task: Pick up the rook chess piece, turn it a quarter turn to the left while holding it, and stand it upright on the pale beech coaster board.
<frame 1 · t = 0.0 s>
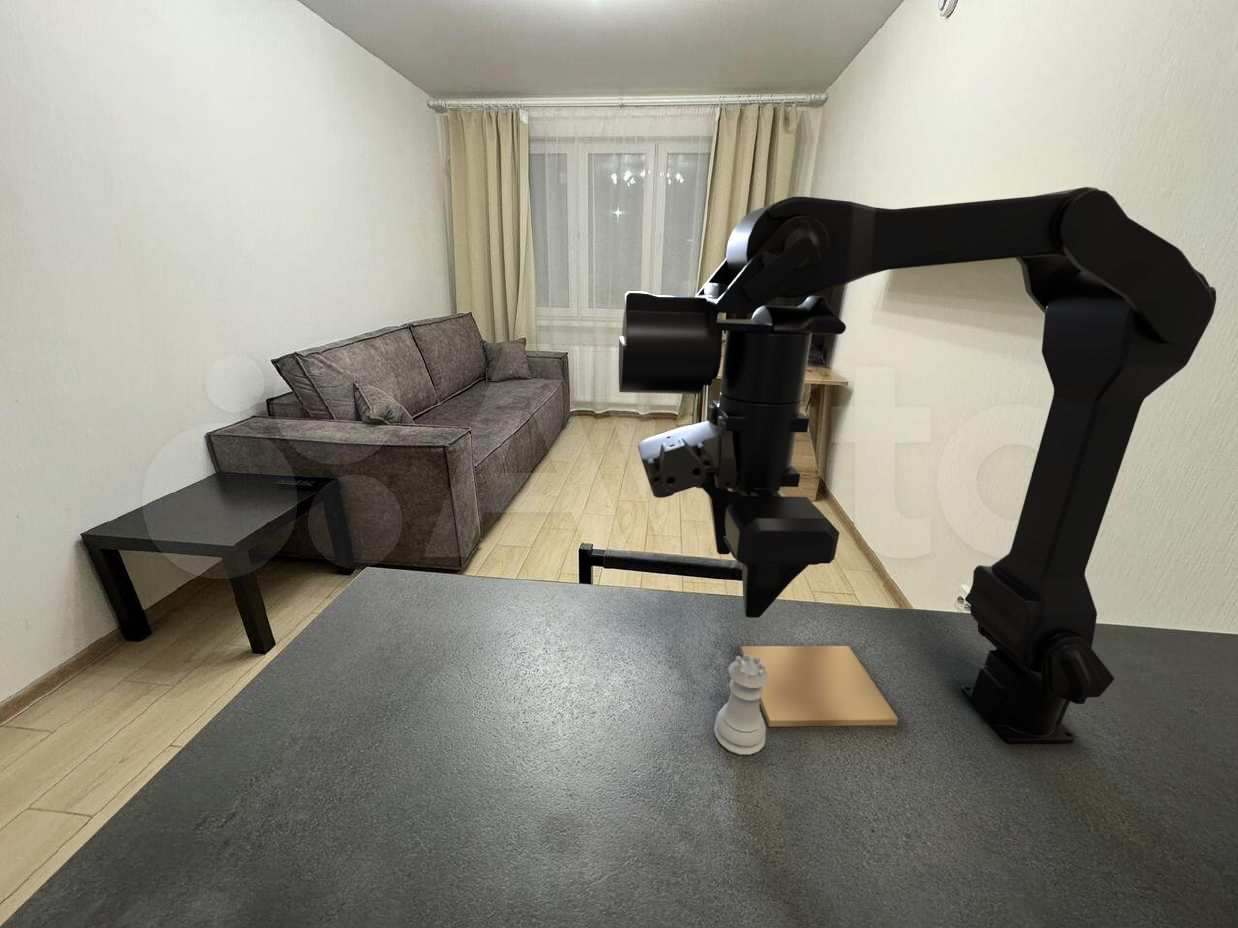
hand: (736, 581, 43), 15 cm above the table, tool pointing down, fingers open, 9 cm apart
rook chess piece: (738, 738, 46), on the table
coaster board: (811, 685, 52), on the table
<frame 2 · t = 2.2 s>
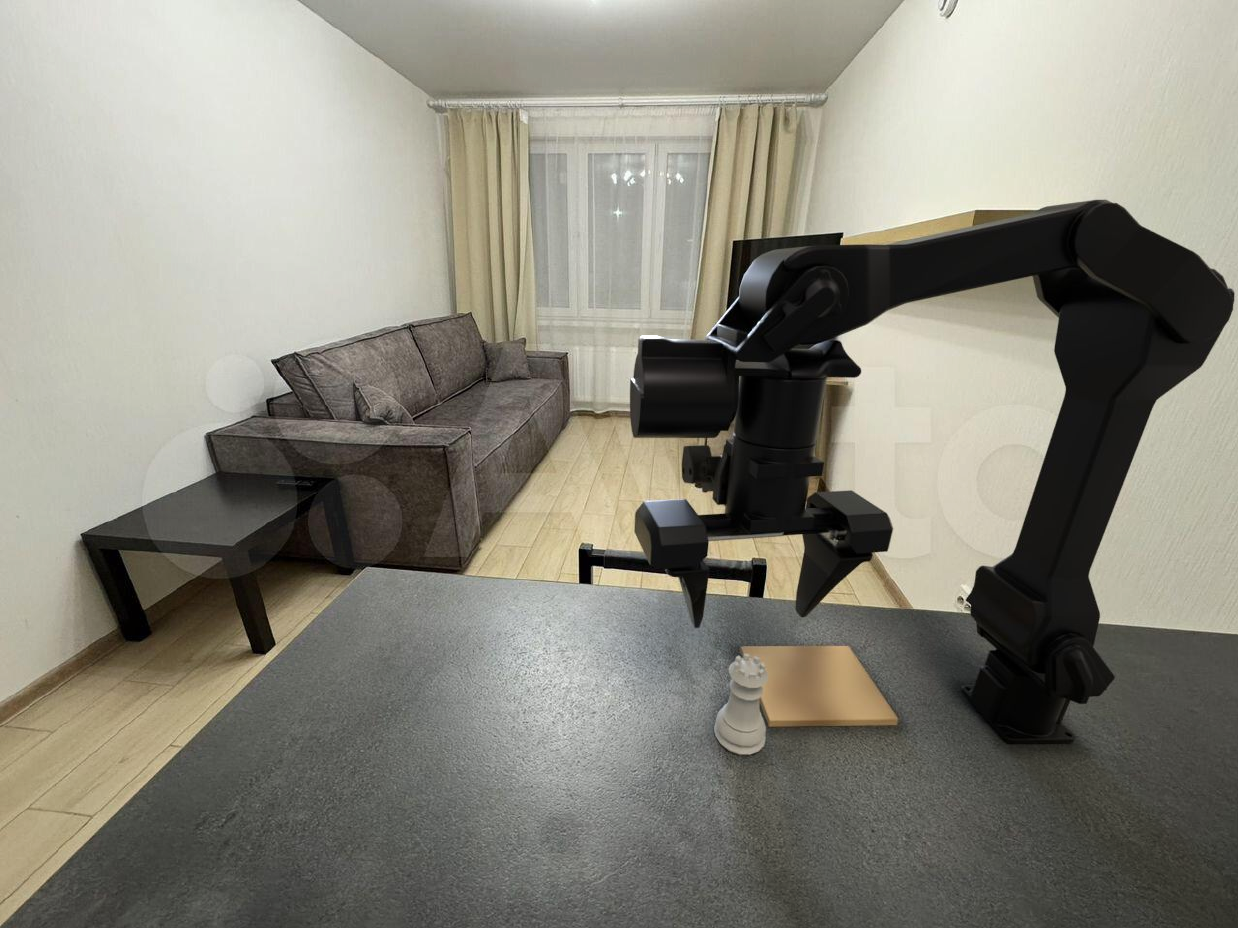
hand: (748, 619, 43), 12 cm above the table, tool pointing down, fingers open, 9 cm apart
nothing on the table moved.
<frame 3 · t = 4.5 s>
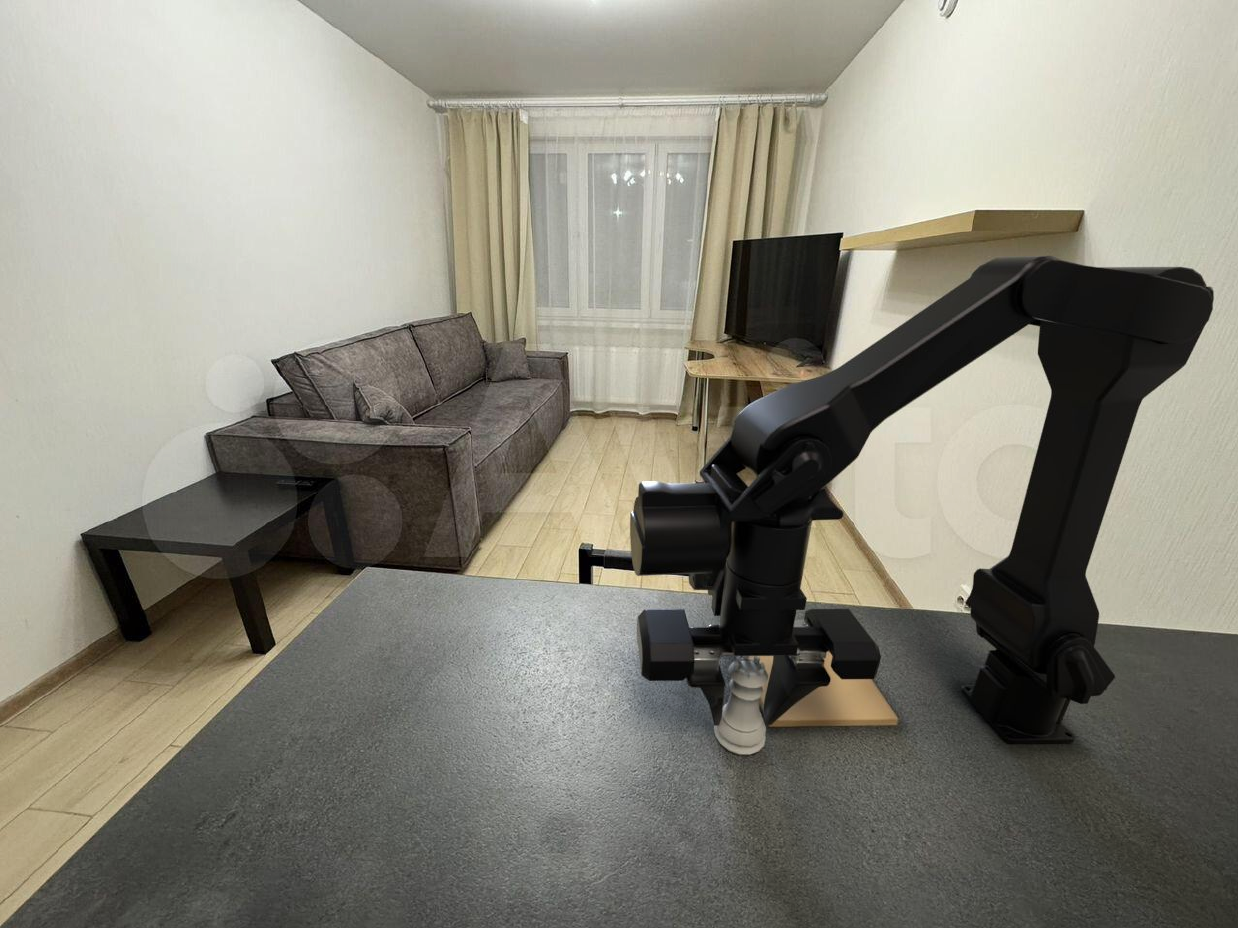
hand: (741, 720, 46), 2 cm above the table, tool pointing down, fingers closed on rook chess piece, 4 cm apart
rook chess piece: (738, 738, 46), on the table, touching gripper
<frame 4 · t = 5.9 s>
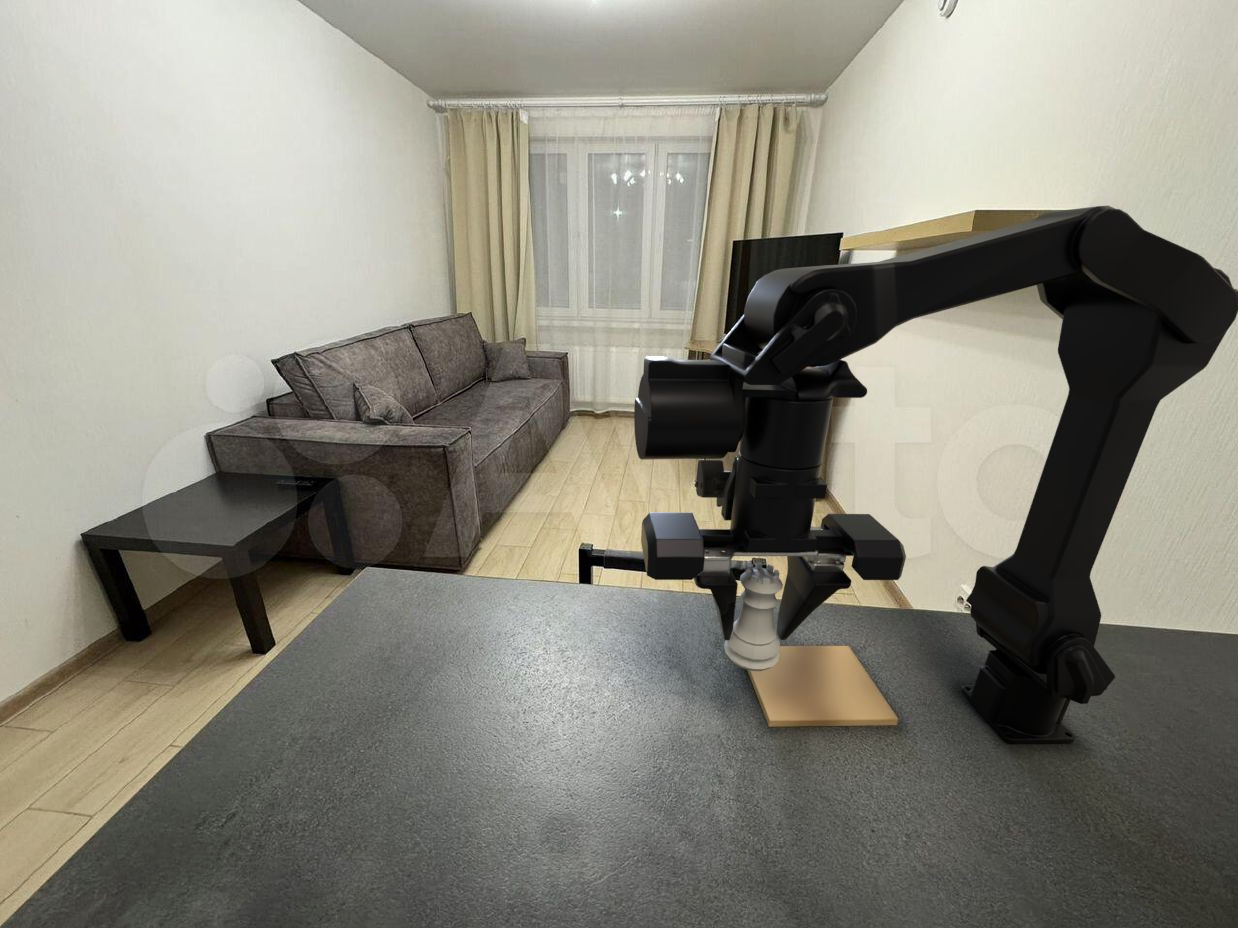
hand: (753, 636, 42), 11 cm above the table, tool pointing down, fingers closed on rook chess piece, 4 cm apart
rook chess piece: (750, 656, 43), point 9 cm above the table, touching gripper
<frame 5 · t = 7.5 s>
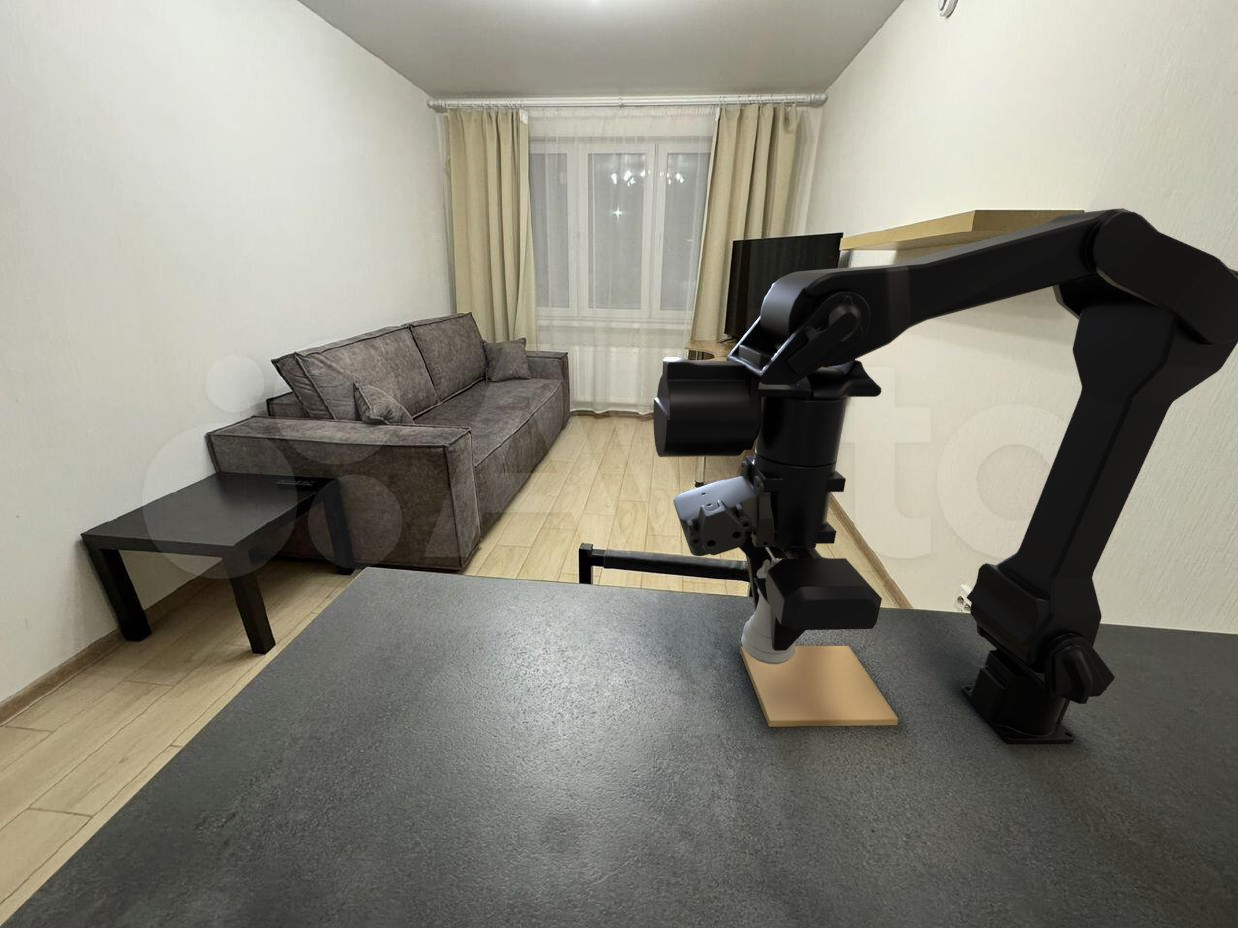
hand: (769, 630, 43), 11 cm above the table, tool pointing down, fingers closed on rook chess piece, 4 cm apart
rook chess piece: (767, 650, 44), point 9 cm above the table, touching gripper
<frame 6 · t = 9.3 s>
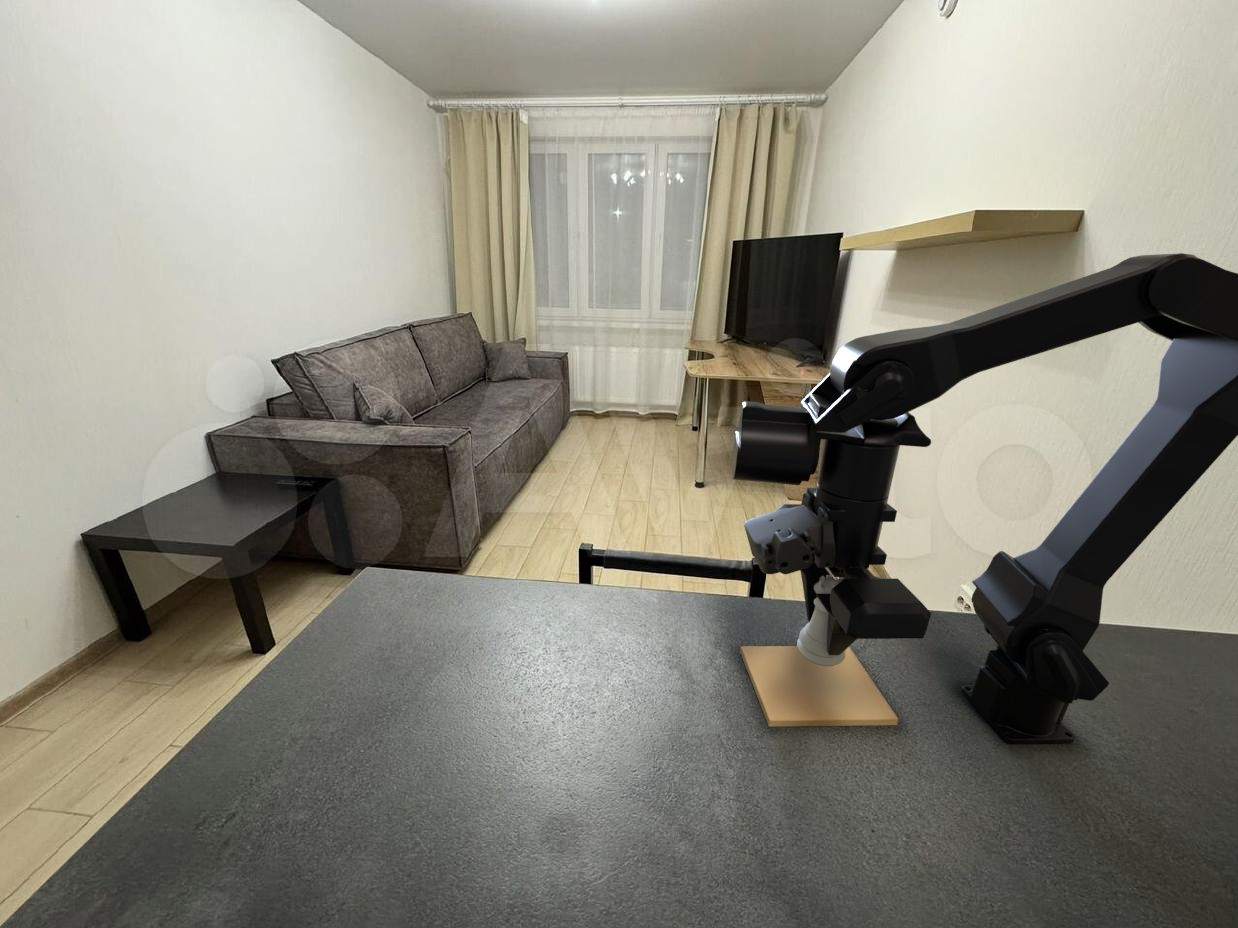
hand: (822, 637, 50), 6 cm above the table, tool pointing down, fingers closed on rook chess piece, 4 cm apart
rook chess piece: (819, 654, 51), point 4 cm above the table, touching gripper
when the fingers open (3 cm above the table, at t = 10.5 s): rook chess piece stays where it is, resting on coaster board.
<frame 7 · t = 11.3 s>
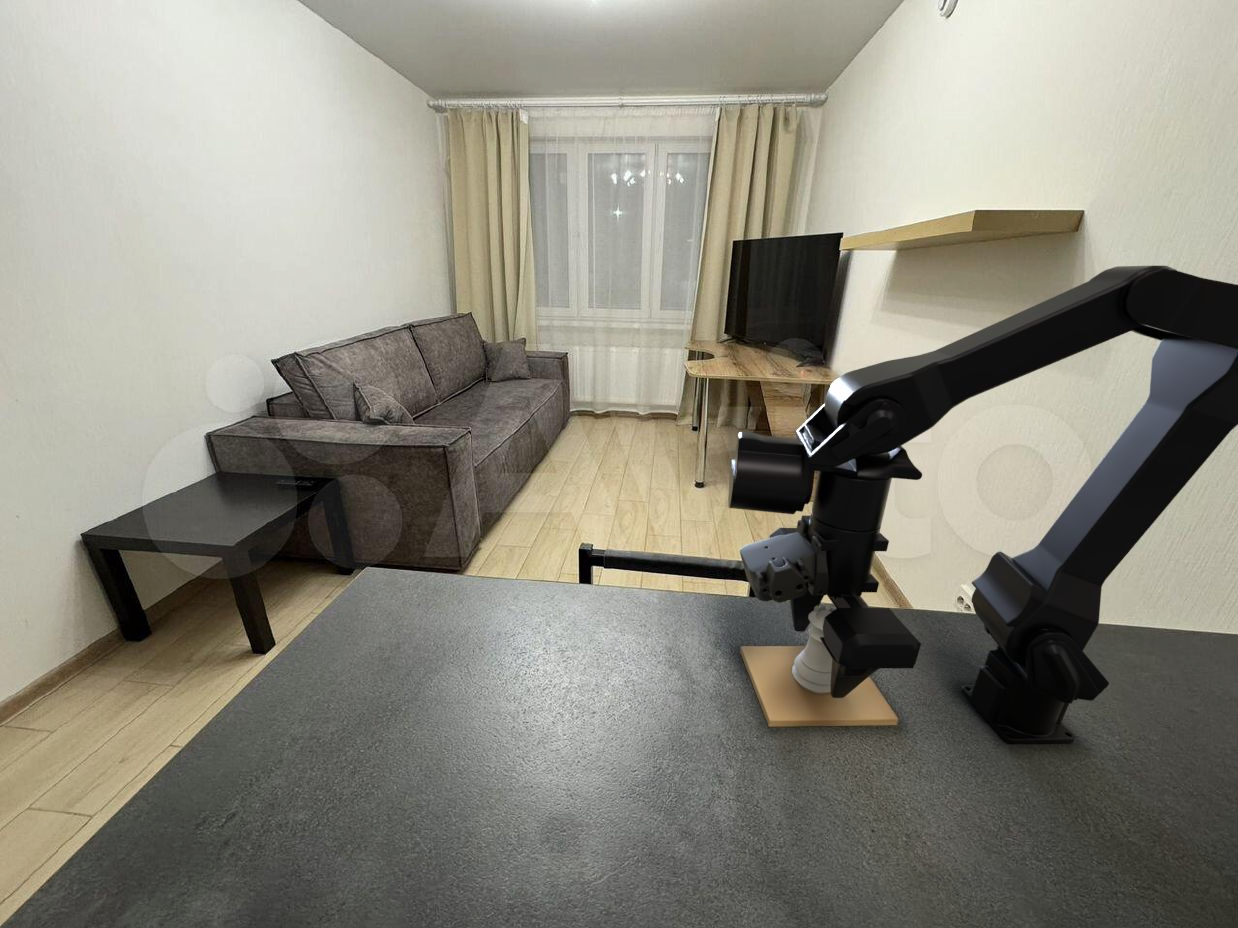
hand: (816, 660, 51), 3 cm above the table, tool pointing down, fingers open, 9 cm apart
rook chess piece: (814, 681, 52), point 1 cm above the table, touching coaster board
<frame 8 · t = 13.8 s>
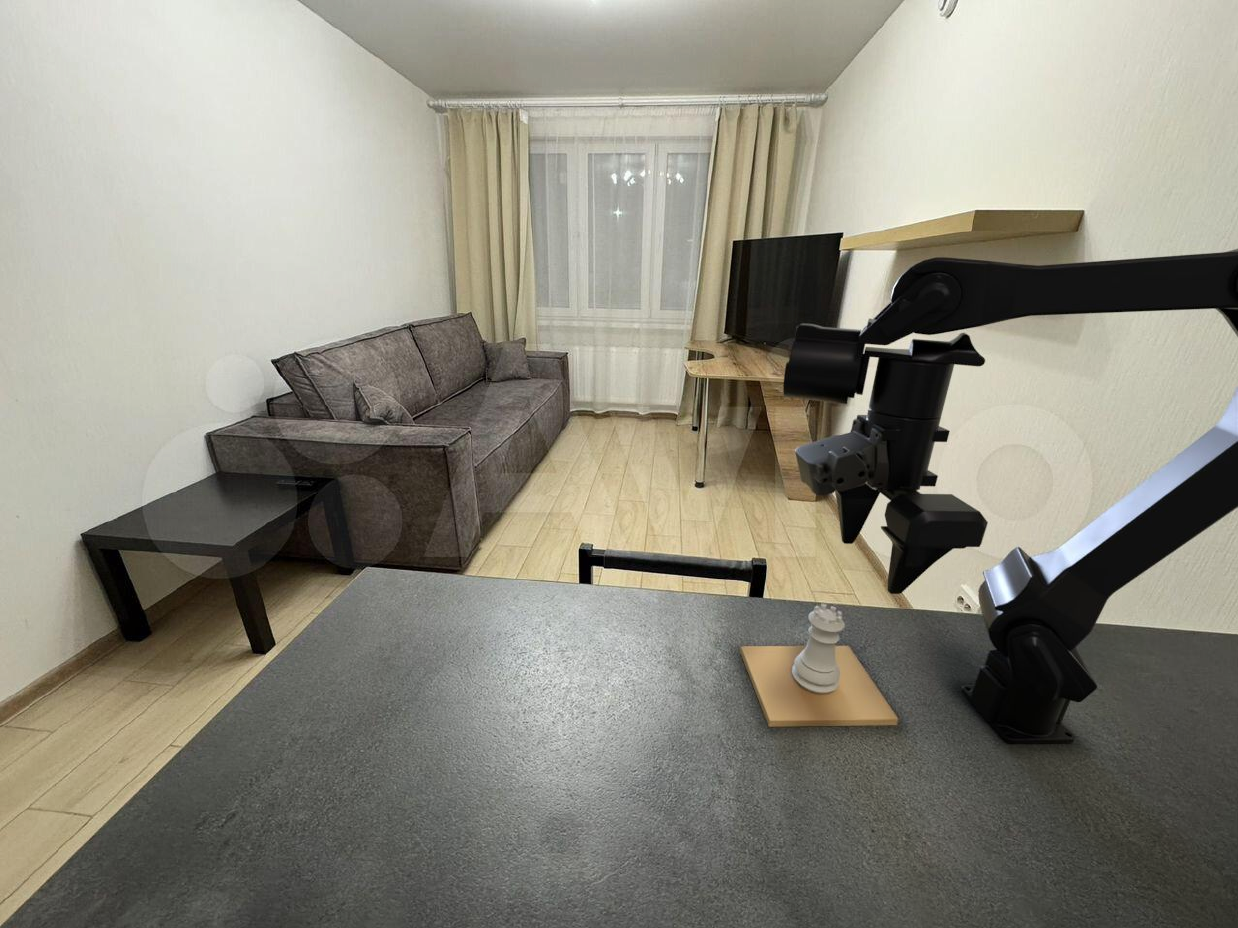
hand: (868, 565, 51), 12 cm above the table, tool pointing down, fingers open, 9 cm apart
nothing on the table moved.
at the end: rook chess piece inside the target area on the coaster board (0.1 cm from its centre), point 0.6 cm above the coaster board's base; rook chess piece tilted 0°; the gripper is holding nothing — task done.
